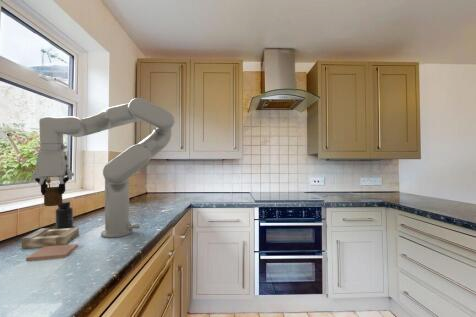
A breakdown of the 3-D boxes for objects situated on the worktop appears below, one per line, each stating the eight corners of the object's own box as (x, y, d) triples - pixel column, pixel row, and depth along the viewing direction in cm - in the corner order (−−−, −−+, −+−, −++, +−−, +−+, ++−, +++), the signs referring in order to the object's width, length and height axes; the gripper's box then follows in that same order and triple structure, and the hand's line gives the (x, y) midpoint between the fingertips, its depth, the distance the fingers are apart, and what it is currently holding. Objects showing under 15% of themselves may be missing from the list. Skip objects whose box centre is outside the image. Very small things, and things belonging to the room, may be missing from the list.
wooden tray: (78, 234, 111) (78, 226, 111) (64, 244, 97) (64, 235, 98) (41, 237, 108) (41, 228, 108) (21, 248, 94) (21, 238, 94)
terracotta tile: (77, 246, 95) (77, 243, 95) (65, 257, 85) (65, 254, 85) (43, 249, 93) (43, 246, 93) (26, 260, 82) (26, 257, 82)
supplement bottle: (70, 225, 128) (69, 200, 128) (75, 227, 124) (75, 202, 124) (53, 228, 123) (53, 202, 123) (58, 230, 118) (58, 204, 118)
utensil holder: (50, 206, 99) (49, 175, 99) (40, 206, 101) (39, 175, 101) (66, 204, 105) (65, 174, 104) (55, 203, 107) (54, 174, 107)
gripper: (79, 148, 109) (80, 191, 109) (32, 149, 105) (33, 194, 105) (72, 147, 101) (73, 194, 101) (21, 148, 97) (22, 196, 97)
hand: (53, 193), depth 103 cm, fingers closed on utensil holder, 5 cm apart
